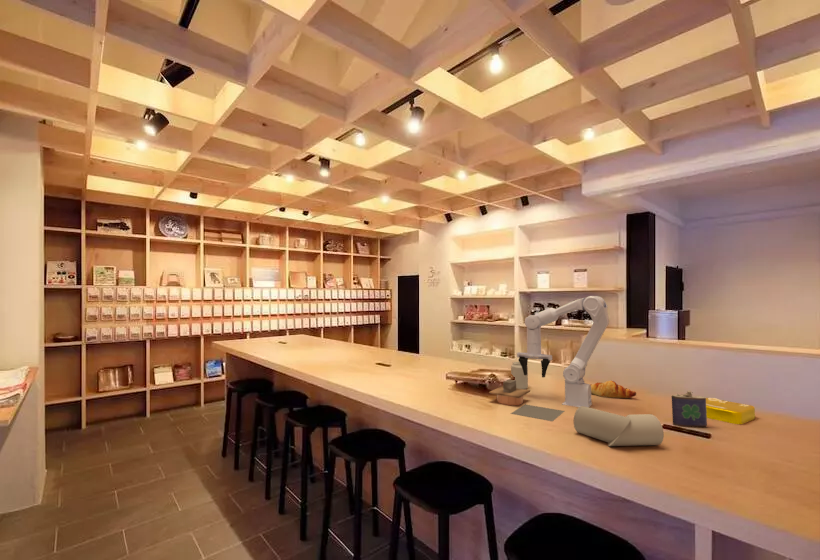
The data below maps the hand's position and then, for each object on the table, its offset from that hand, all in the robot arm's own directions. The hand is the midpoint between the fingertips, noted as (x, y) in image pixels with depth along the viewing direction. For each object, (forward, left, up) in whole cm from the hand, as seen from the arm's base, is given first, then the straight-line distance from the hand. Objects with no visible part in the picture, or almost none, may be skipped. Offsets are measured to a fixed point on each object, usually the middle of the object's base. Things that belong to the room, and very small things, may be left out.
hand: (534, 376), depth 164 cm
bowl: (+6, +12, -9) cm, 16 cm away
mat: (-8, +20, -9) cm, 24 cm away
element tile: (-62, -16, -10) cm, 65 cm away
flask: (-53, +4, -10) cm, 54 cm away
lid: (+6, +12, -5) cm, 15 cm away
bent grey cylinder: (-35, +33, -10) cm, 49 cm away
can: (+12, -14, -10) cm, 21 cm away
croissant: (-24, -24, -10) cm, 35 cm away
